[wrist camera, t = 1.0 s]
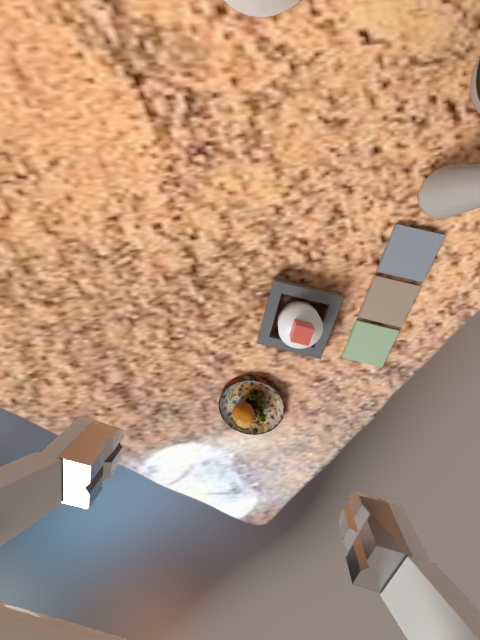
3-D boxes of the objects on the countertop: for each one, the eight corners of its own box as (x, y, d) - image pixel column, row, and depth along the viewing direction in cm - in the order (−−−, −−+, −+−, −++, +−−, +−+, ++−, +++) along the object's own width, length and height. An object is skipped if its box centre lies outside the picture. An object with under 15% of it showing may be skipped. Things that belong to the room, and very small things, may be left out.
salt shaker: (408, 176, 32) (491, 145, 20) (459, 162, 31) (580, 120, 19) (411, 224, 34) (489, 222, 22) (459, 212, 33) (569, 203, 21)
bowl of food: (248, 437, 50) (244, 471, 43) (206, 396, 48) (195, 425, 41) (298, 407, 46) (303, 439, 39) (256, 361, 44) (253, 386, 37)
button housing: (273, 277, 38) (274, 280, 36) (339, 293, 38) (343, 297, 36) (258, 336, 42) (257, 343, 40) (317, 351, 42) (320, 358, 39)
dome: (283, 296, 37) (286, 308, 32) (324, 306, 37) (333, 320, 32) (273, 333, 39) (273, 350, 34) (311, 342, 39) (317, 361, 34)
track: (395, 224, 34) (397, 224, 34) (442, 235, 34) (445, 235, 33) (341, 355, 41) (342, 357, 41) (380, 365, 41) (381, 367, 41)
